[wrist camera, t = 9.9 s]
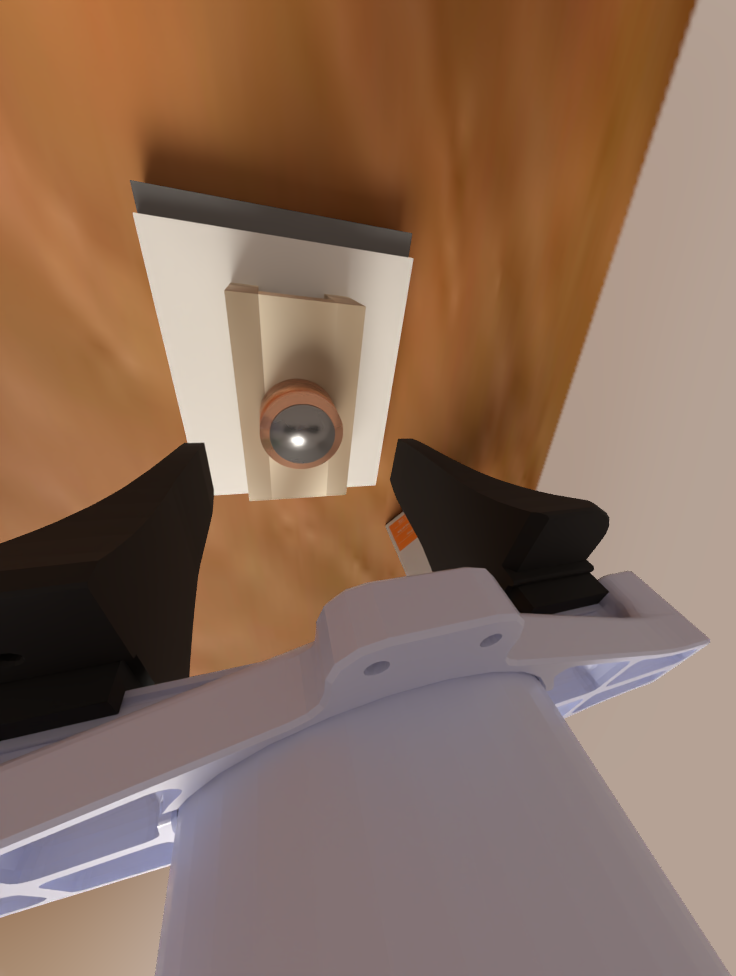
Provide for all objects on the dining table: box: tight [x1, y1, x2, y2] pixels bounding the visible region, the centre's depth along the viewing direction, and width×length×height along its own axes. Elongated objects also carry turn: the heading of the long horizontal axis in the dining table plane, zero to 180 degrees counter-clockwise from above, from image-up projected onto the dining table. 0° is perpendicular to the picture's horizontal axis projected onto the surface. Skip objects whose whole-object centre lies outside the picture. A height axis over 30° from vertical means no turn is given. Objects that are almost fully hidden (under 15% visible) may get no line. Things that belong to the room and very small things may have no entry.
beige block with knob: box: [224, 283, 366, 501], centre depth 17 cm, size 6×10×4 cm, turn 172°
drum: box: [260, 379, 343, 469], centre depth 14 cm, size 4×4×2 cm
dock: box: [130, 180, 413, 495], centre depth 19 cm, size 12×15×2 cm
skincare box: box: [386, 512, 432, 576], centre depth 26 cm, size 6×4×12 cm
